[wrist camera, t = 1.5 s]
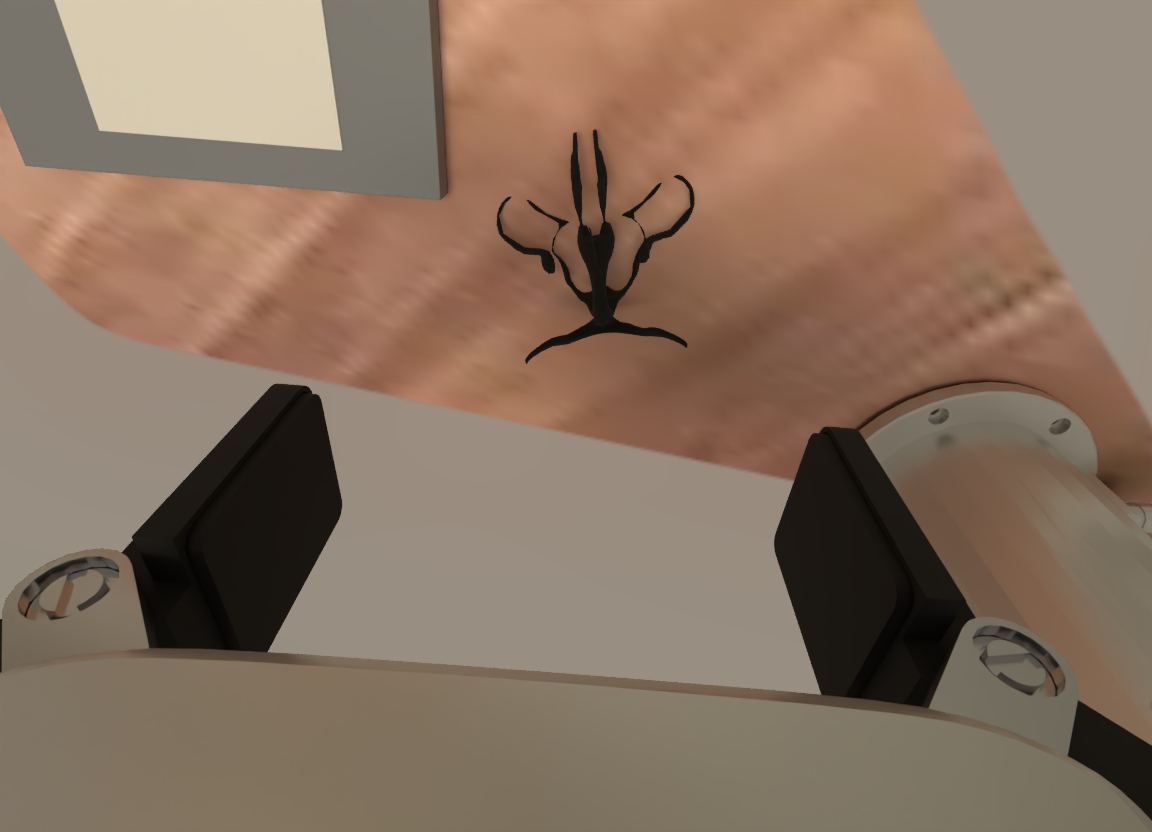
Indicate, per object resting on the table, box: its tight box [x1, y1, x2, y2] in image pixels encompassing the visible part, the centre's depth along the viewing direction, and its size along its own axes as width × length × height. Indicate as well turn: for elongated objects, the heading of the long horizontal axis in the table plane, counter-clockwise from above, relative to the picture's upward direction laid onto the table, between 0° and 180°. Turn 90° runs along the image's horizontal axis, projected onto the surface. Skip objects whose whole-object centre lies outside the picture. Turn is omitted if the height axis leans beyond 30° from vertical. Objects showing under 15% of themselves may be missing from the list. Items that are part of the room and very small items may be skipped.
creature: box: [497, 130, 694, 364], centre depth 22 cm, size 8×5×8 cm
